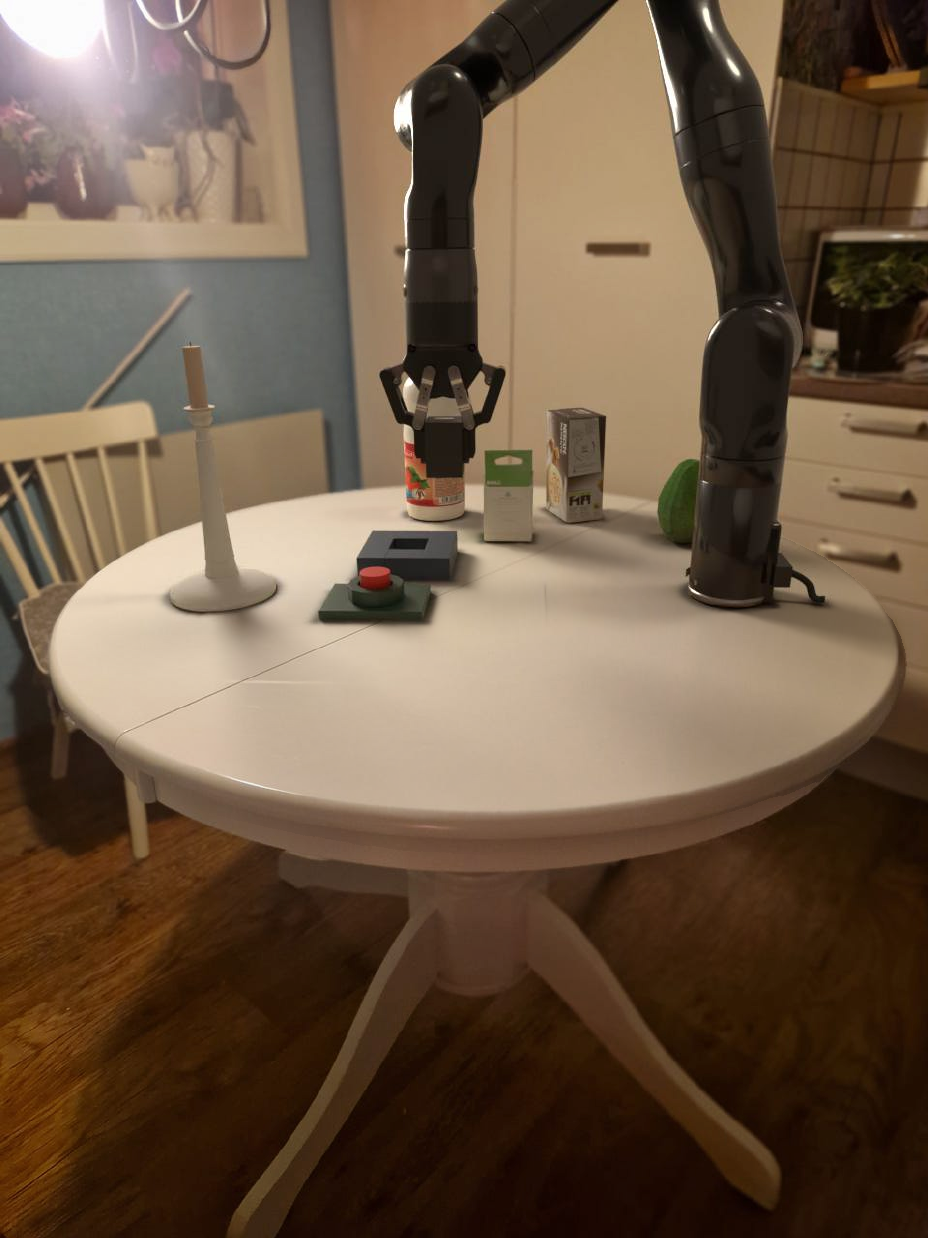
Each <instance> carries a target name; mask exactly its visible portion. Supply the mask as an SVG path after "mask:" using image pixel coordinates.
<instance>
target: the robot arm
mask: <svg viewBox="0 0 928 1238" xmlns="http://www.w3.org/2000/svg"><path fill="white" fill-rule="evenodd" d="M619 1H620V0H504V1H503V2H502V3H501V4H500V5H498V6H497V7H496V8H495V9H494V10H493V11H491V12H490V13H489V14H488V15H487V16H486V17H485V18H484V19H483V20H481V22H480V23H479V24H478V25H477V26H476V27H475V28H474V29H473V30H472V31H471V32H470V34H468V35H467V37H465V39H463V41H461V42H460V43H459V44H457V45H456V46H454V47H453V48H452V49H450V50H449V51H448V52H447V53H445V54H444V55H442V56H441V57H440V58H439V59H437V60H435V61H434V62H433V63H432V64H431V65H429V66H428V67H426V68H425V69H424V70H423V71H422V72H420V73H419V74H418V75H416V76H415V77H413V79H411V80H410V81H409V82H408V83H406V84H405V86H404V87H403V88H402V90H401V91H400V92H399V94H398V96H397V99H396V102H395V106H394V110H393V125H394V130H395V133H396V135H397V137H398V139H399V141H400V142H401V144H402V145H403V146H404V147H405V149H407V150H408V151H409V152H410V153H411V183H410V185H409V188H408V189H407V192H406V194H405V198H404V206H403V207H404V209H403V219H404V221H403V223H404V247H405V249H406V250H404V251H405V253H404V255H405V256H404V266H403V267H404V269H403V289H402V291H403V297H404V311H405V314H404V316H405V337H406V338H405V340H406V352H405V355H404V357H403V359H402V362H400V363H397V364H395V365H393V366H386V367H385V366H384V367H383V368H382V369H381V371H380V372H379V375H378V377H379V379H380V382H381V384H382V387H383V390H384V392H385V395H386V398H387V401H388V403H389V406H390V408H391V411H392V413H393V416H394V419H395V421H396V423H397V424H399V425H404V424H405V425H408V426H410V427H411V428H412V429H413V431H414V454H415V456H416V458H421V464H426V454H425V421H426V417H427V413H428V408H429V405H430V401H431V399H436V398H440V397H446V398H450V399H456V402H457V406H458V409H459V411H460V416H461V418H462V422H463V425H464V427H463V464H465V465H466V464H467V465H468V464H470V459H474V457H475V455H476V452H477V451H476V449H477V448H476V429H477V428H478V427H479V426H481V425H485V424H489V423H490V422H491V421H492V417H493V414H494V412H495V409H496V406H497V403H498V400H499V397H500V394H501V390H502V388H503V384H504V382H505V379H506V375H507V370H506V368H505V366H504V365H494V364H491V363H489V362H485V361H484V359H483V356H482V355H481V353H480V350H479V304H478V302H479V295H478V294H479V286H478V285H479V284H478V283H479V281H478V279H479V278H478V266H477V260H476V259H477V258H476V249H475V247H476V245H475V243H476V241H475V240H476V238H475V206H474V205H475V204H474V202H475V200H474V199H475V193H476V187H477V182H478V175H479V167H480V161H481V154H482V146H483V135H484V134H483V133H484V130H483V129H484V119H486V117H488V116H489V115H490V114H492V112H493V111H494V110H496V109H497V108H498V107H500V106H501V105H502V104H505V103H506V102H508V101H510V100H512V99H514V98H515V97H517V96H519V95H521V94H522V93H523V92H525V91H526V90H527V89H528V88H530V87H531V86H532V85H533V84H535V82H537V81H538V80H539V79H540V78H541V77H543V76H544V75H545V74H546V73H547V72H548V71H549V70H551V69H552V68H553V67H554V66H555V65H556V64H558V62H559V61H561V60H562V59H563V58H564V57H565V56H566V55H567V54H568V53H569V52H571V50H573V48H574V47H576V46H577V45H578V43H579V42H581V41H582V39H584V38H585V37H586V36H587V35H588V34H589V32H591V30H593V29H594V27H596V25H597V24H598V23H599V22H600V21H601V20H602V19H603V17H605V16H606V14H608V12H609V11H610V10H611V9H612V8H613V7H614V6H615V5H616V4H617V3H618V2H619ZM645 3H646V7H647V10H648V14H649V18H650V21H651V25H652V28H653V33H654V37H655V42H656V47H657V53H658V59H659V65H660V66H659V67H660V71H661V76H662V82H663V89H664V93H665V98H666V103H667V109H668V115H669V120H670V129H671V137H672V142H673V146H674V152H675V158H676V163H677V169H678V173H679V179H680V183H681V186H682V190H683V194H684V197H685V201H686V203H687V206H688V208H689V211H690V213H691V216H692V218H693V221H694V224H695V226H696V228H697V231H698V233H699V235H700V237H701V240H702V243H703V245H704V248H705V250H706V253H707V255H708V257H709V261H710V265H711V269H712V273H713V278H714V279H713V280H714V285H715V294H716V303H717V313H718V319H717V320H716V321H715V323H714V324H713V325H712V327H711V328H710V330H709V332H708V334H707V337H706V339H705V344H704V349H703V356H702V364H701V365H702V366H701V377H700V392H699V393H700V394H699V395H700V396H699V413H698V425H699V430H700V435H701V437H700V439H701V440H700V453H699V455H700V456H699V460H700V464H699V475H698V486H697V497H696V508H695V519H694V530H693V542H691V554H690V565H689V567H687V568H685V577H688V581H687V589H686V591H687V593H688V595H689V596H690V597H691V598H693V599H695V600H697V601H699V602H702V603H704V604H707V605H712V606H716V607H723V608H724V607H725V608H748V607H753V606H758V605H761V604H772V603H773V598H774V590H775V589H776V588H777V589H780V588H781V589H788V588H791V583H792V579H795V580H796V581H799V582H800V583H802V584H803V585H804V586H805V587H806V591H807V595H808V597H809V599H810V601H812V602H813V603H816V604H825V602H826V595H817V593H816V587H815V585H814V583H813V582H812V580H811V579H810V578H809V577H807V576H806V575H805V574H804V573H801V572H799V571H797V570H795V569H794V566H793V565H792V564H791V562H790V561H789V560H788V559H787V557H785V555H784V554H783V553H782V552H780V547H781V546H780V545H781V537H782V529H783V527H782V524H781V523H780V522H779V520H778V517H779V516H778V515H779V508H780V501H781V491H782V485H783V477H784V468H785V461H786V454H787V453H786V452H787V445H788V438H789V432H788V425H787V421H788V419H787V418H788V406H789V398H790V397H789V396H790V388H791V381H792V372H793V370H794V368H795V367H796V366H797V363H798V362H799V359H800V357H801V353H802V351H803V345H804V336H803V328H802V325H801V321H800V318H799V315H798V311H797V308H796V304H795V301H794V298H793V294H792V290H791V287H790V282H789V278H788V274H787V270H786V266H785V263H784V258H783V253H782V247H781V241H780V240H781V239H780V231H779V229H780V228H779V215H778V214H779V212H778V199H777V190H776V189H777V188H776V180H775V171H774V162H773V152H772V144H771V135H770V129H769V123H768V117H767V111H766V106H765V105H766V104H765V99H764V95H763V91H762V88H761V84H760V82H759V79H758V77H757V75H756V73H755V71H754V69H753V68H752V66H751V64H750V62H749V61H748V59H747V58H746V56H745V55H744V53H743V52H742V50H741V48H740V47H739V45H738V43H737V42H736V41H735V39H734V37H733V36H732V35H731V33H730V31H729V29H728V26H727V25H726V22H725V19H724V16H723V13H722V9H721V4H720V0H645ZM480 372H481V373H482V374H483V376H484V378H483V381H484V384H485V385H486V386H488V390H487V392H486V396H485V399H484V402H483V405H482V408H481V410H479V411H477V412H474V408H473V405H472V401H471V400H472V399H471V396H470V393H469V388H470V387H471V386H472V384H473V382H474V381H475V380H476V378H477V376H478V375H479V374H480ZM404 373H405V374H406V375H407V376H408V377H409V378H410V379H411V380H412V382H413V383H414V384H415V386H416V387H417V388H418V390H419V395H418V399H417V404H416V409H415V413H412V412H409V411H408V409H407V407H406V404H405V401H404V398H403V392H402V390H401V388H400V386H401V385H402V384H403V381H404V379H403V375H404Z"/></svg>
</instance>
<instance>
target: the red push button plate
mask: <svg viewBox="0 0 928 1238" xmlns="http://www.w3.org/2000/svg"><path fill="white" fill-rule="evenodd" d="M390 576H391V586H389V587H387V588H381V589H365V588H361V587H360V576H358V575H357V576H356V577H354V578H351V579H350V580H349V581H348V582H347V583H334V584H333V585H332V587H331V589H330V591H329V592H328V594H327V595H326V597H325V599H324V600H323V602H322V604H321V605H320V607H319V608H318V610H317V611H318V613H317V614H318V620H320V621H321V620H324V621H325V620H326V621H329V620H330V621H399V622H400V621H405V622H408V621H409V622H410V621H412V622H413V621H414V622H423V620H424V617H425V613H426V611H427V607H428V604H429V600H430V598H431V594H432V587H431V586H432V584H430V583H427V584H425V583H424V584H423V583H405V580H402V579H401V578H400V577H399V576H395V575H391V574H390Z"/></svg>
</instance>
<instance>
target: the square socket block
mask: <svg viewBox="0 0 928 1238" xmlns="http://www.w3.org/2000/svg"><path fill="white" fill-rule="evenodd" d="M458 547H459V545H458V530H372V531H371V532H370V534H369V536H368V537H367V539H366V540H365V542H364V544H363V546H362V548H361V549H360V551H359V553H358V555H357V556H356V570H357V572H356V573H357V577H358V576H360V573H359V572H360V571H361V570H362V569H364V568H368V567H385V568H388V569H389V570H390V574H391V575H395V576H399V577H400V578H401V579H402V580H404V581H405V580H406V581H407V580H410V581H412V580H417V581H420V580H421V581H451V579H452V575H453V571H454V568H455V567H454V566H455V562H456V558H457V555H458V549H459V548H458Z"/></svg>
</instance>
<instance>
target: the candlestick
mask: <svg viewBox="0 0 928 1238" xmlns="http://www.w3.org/2000/svg"><path fill="white" fill-rule="evenodd" d="M181 350H182V359H183V366H184V371H185V373H184V374H185V379H186V387H187V393H188V394H187V395H188V401H189V405H187V406H184V407H183V408H182V409H183V410H184V411H186V413H187V414H188V415H189V417H188V422H189V424H191V426H193V429H194V431H195V438H194V440H193V441H194V444H195V445H194V446H195V455H196V456H195V457H196V467H197V478H198V479H197V481H198V492H199V502H200V516H201V525H202V526H201V527H202V537H203V539H202V540H203V550H204V561H205V563H204V564H205V565H204V569H203V570H200V571H196V572H195V573H192V574H189V575H187V576H186V577H184V578H182V579H181V580H180V581H179V582H177V583H176V584H175V585H174V586H173V587H172V589H171V590H170V593H169V596H170V601H171V603H172V605H174V606H175V607H177V608H179V609H181V610H186V611H191V612H201V613H202V612H203V613H206V612H223V611H230V610H236V609H242V608H245V607H249V606H252V605H257V604H259V603H261V602H263V601H265V600H266V599H269V598H270V597H271V596H273V595H274V593H275V592H276V591H277V583H276V580H275V579H274V578H273V576H271V575H270V574H268V573H266V572H264V571H262V570H259V569H256V568H252V567H247V566H238V565H237V563H236V560H235V554H234V550H233V544H232V539H231V538H232V537H231V533H230V528H229V523H228V517H227V511H226V506H225V501H224V495H223V490H222V484H221V479H220V474H219V468H218V463H217V457H216V452H215V446H214V438H213V436H211V432H210V430H211V424H212V423H213V421H214V418H213V416H212V412H213V410H214V409H215V408H216V405H213V404H209V402H208V394H207V387H206V386H207V385H206V379H205V371H204V364H203V357H202V350H201V345H192V342H191V341H190V342H189V345H186V346H182V347H181ZM173 593H174V594H173ZM177 597H178V598H177Z"/></svg>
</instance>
